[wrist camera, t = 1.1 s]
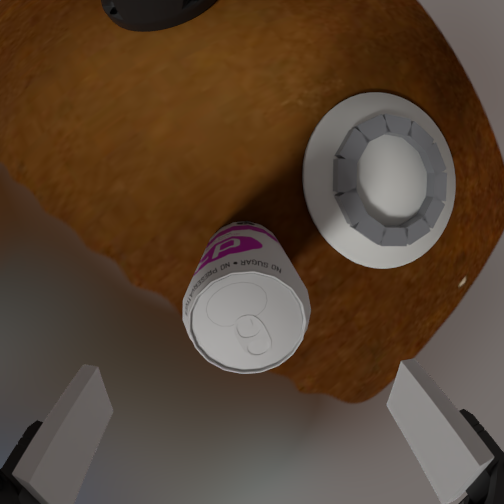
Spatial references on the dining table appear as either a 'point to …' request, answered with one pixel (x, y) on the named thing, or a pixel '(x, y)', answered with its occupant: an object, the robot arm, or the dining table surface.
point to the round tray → (378, 180)
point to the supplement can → (246, 301)
